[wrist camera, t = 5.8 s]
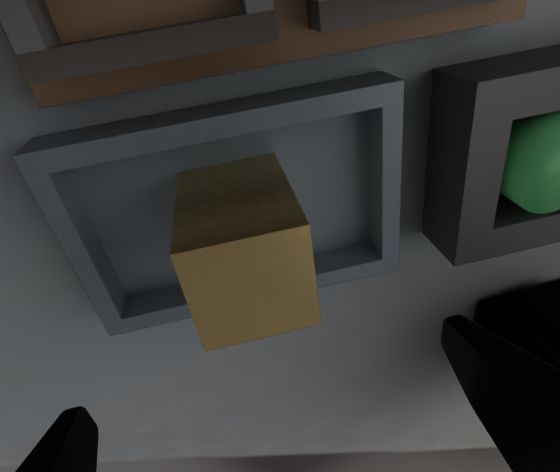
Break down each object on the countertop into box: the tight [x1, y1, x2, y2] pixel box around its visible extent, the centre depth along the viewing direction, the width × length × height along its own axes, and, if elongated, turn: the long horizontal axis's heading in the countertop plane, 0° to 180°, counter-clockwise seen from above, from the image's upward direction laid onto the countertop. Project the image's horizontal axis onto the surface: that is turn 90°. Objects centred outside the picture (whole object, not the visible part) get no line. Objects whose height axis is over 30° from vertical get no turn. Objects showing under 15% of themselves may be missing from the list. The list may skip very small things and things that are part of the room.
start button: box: [500, 110, 560, 214], centre depth 17 cm, size 4×4×3 cm
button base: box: [422, 44, 560, 266], centre depth 17 cm, size 8×8×3 cm
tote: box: [12, 71, 404, 336], centre depth 17 cm, size 9×14×2 cm, turn 99°
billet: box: [170, 153, 321, 352], centre depth 15 cm, size 4×4×6 cm
